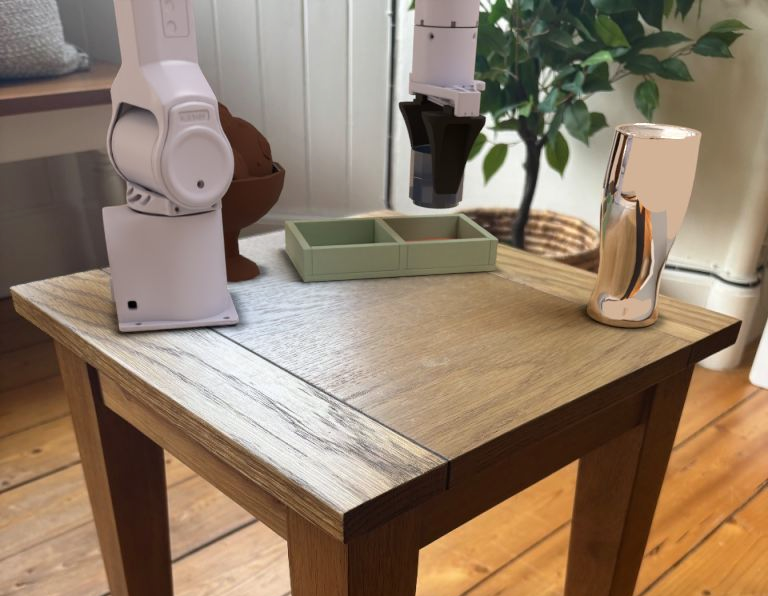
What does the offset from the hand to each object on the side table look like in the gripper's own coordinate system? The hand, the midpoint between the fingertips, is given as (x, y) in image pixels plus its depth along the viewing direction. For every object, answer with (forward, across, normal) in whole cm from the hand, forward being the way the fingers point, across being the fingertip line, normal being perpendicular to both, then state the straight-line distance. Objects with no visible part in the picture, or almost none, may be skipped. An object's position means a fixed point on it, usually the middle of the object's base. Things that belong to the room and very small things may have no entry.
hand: (436, 186), depth 80 cm
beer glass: (+7, -19, -11) cm, 23 cm away
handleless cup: (+2, 0, 0) cm, 2 cm away
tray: (+7, 0, +5) cm, 9 cm away
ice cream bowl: (+7, -1, +21) cm, 22 cm away
